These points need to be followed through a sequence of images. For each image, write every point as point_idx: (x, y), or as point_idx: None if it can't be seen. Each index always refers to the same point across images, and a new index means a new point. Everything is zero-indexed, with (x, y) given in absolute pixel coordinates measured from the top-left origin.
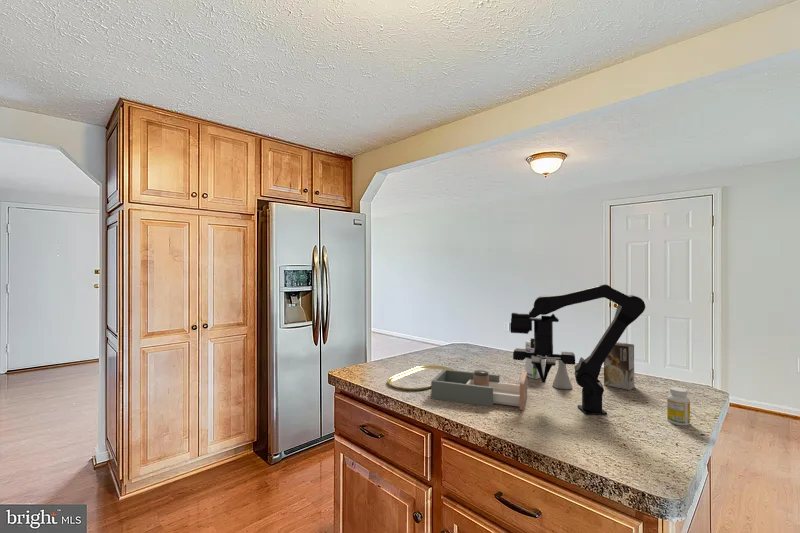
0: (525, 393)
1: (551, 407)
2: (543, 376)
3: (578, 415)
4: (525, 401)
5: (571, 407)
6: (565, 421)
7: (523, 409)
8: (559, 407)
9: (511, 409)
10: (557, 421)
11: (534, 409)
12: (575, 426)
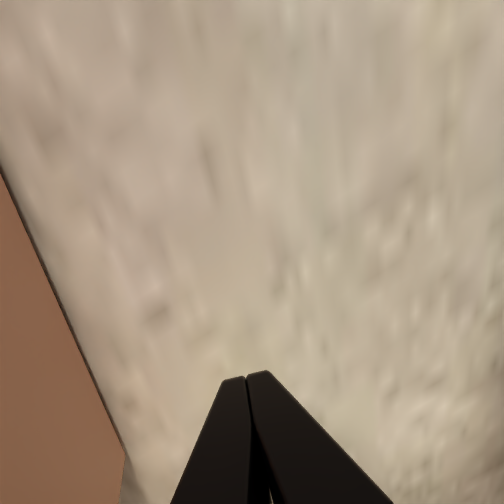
0: (19, 332)
1: (296, 259)
2: (257, 464)
3: (498, 305)
4: (48, 283)
5: (461, 155)
6: (410, 441)
7: (123, 458)
8: (360, 218)
9: None
10: (365, 465)
11: (183, 377)
12: (461, 467)
